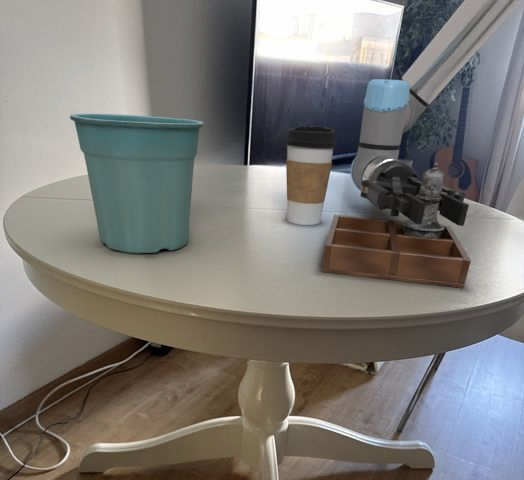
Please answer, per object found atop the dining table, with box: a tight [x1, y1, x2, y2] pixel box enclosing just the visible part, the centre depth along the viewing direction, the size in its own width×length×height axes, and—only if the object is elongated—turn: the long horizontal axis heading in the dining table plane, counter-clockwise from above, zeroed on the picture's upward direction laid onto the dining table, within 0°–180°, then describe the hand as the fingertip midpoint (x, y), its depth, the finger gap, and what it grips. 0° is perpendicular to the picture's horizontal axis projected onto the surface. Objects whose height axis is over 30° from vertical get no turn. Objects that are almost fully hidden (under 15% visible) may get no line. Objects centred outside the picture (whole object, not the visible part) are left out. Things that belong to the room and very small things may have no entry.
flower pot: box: [69, 113, 204, 254], centre depth 65 cm, size 16×16×16 cm
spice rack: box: [321, 214, 472, 289], centre depth 66 cm, size 17×17×4 cm
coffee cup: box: [284, 125, 337, 226], centre depth 81 cm, size 8×8×15 cm
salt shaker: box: [402, 161, 445, 238], centre depth 67 cm, size 6×6×12 cm
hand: (442, 214), depth 62 cm, fingers open, 5 cm apart
